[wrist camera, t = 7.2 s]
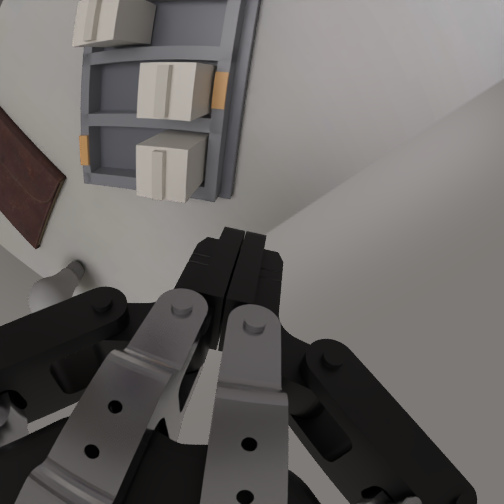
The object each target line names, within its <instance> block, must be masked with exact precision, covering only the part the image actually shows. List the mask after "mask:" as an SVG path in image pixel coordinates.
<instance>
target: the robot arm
mask: <svg viewBox="0 0 504 504" xmlns="http://www.w3.org/2000/svg"><path fill="white" fill-rule="evenodd" d="M244 235H245V231H243V230H238V229H234V228H229V227H225V228H224V230H223V232H222V234H221V236H220V239H214V238H210V237H207V238H206V239H204V240H202V241H201V242H199V243H198V244H197V246H196V248H195V250H194V252H193V254H192V255H191V257H190V259H189V262H188V263H187V265H186V267H185V269H184V270H183V272H182V274H181V276H180V278H179V280H178V282H177V284H176V286H175V288H174V289H172V290H169V291H167V292H165V293H163V294H162V295H161V296H160V297H159V298H158V300H157V301H156V302H153V303H127V300H126V297H125V295H124V294H123V293H122V292H121V291H119V290H118V289H115V288H112V287H99V288H95V289H92V290H90V291H87V292H84V293H82V294H79V295H77V296H74V297H72V298H69V299H67V300H64V301H62V302H59V303H57V304H54V305H52V306H49V307H47V308H44V309H42V310H39V311H37V312H34V313H32V314H29V315H27V316H24V317H22V318H19V319H17V320H15V321H12V322H10V323H7V324H5V325H2V326H0V504H321V503H320V502H319V501H318V500H317V498H316V497H315V495H314V494H313V493H312V491H311V490H310V489H309V487H308V486H307V485H306V484H305V483H304V482H303V481H302V480H301V479H300V478H299V477H298V476H297V475H295V474H294V473H293V472H291V471H290V470H288V425H289V426H290V427H291V429H292V430H293V431H294V433H295V434H296V435H297V437H298V438H299V440H300V441H301V442H302V444H303V445H304V446H305V447H306V449H307V450H308V451H309V453H310V454H311V455H312V457H313V458H314V459H315V461H316V462H317V463H318V464H319V466H320V467H321V468H322V470H323V471H324V472H325V473H326V475H327V476H328V477H329V478H330V480H331V481H332V482H333V483H334V485H335V486H336V487H337V488H338V489H339V491H340V492H341V493H342V494H343V495H344V497H345V498H346V499H347V500H348V501H349V503H350V504H477V496H476V492H475V490H474V488H473V487H472V485H471V484H470V483H469V482H468V481H467V480H466V479H465V477H464V476H463V475H462V474H461V473H460V472H459V471H458V470H457V469H456V467H455V466H454V465H453V464H452V463H451V462H450V460H449V459H448V458H447V457H446V456H445V455H444V454H443V453H442V452H441V450H440V449H439V448H438V447H437V446H436V445H435V444H434V443H433V441H432V440H431V439H430V438H429V437H428V436H427V435H426V434H425V432H424V431H423V430H422V429H421V428H420V427H419V426H418V425H417V423H416V422H415V421H414V420H413V419H412V418H411V417H410V416H409V414H408V413H407V412H406V411H405V410H404V409H403V408H402V407H401V406H400V405H399V403H398V402H397V401H396V400H395V399H394V398H393V397H392V396H391V394H390V393H389V392H388V391H387V390H386V389H385V388H384V387H383V386H382V384H381V383H380V382H379V381H378V380H377V379H376V378H375V377H374V376H373V374H372V373H371V372H370V371H369V370H368V369H367V368H366V367H365V366H364V365H363V363H362V362H361V361H360V360H359V359H358V358H357V357H356V356H355V355H354V353H353V352H352V351H351V350H350V349H349V348H348V347H347V346H345V345H344V344H342V343H340V342H338V341H336V340H332V339H321V340H317V341H315V342H313V343H312V344H311V345H310V344H307V343H305V342H303V341H301V340H299V339H297V338H295V337H293V336H292V335H290V334H289V333H288V332H287V331H286V330H285V329H284V328H283V326H282V325H281V323H280V320H279V305H280V294H281V281H282V271H283V261H282V259H281V257H280V255H279V253H278V252H274V251H270V250H265V249H264V246H265V241H266V235H262V234H257V233H253V232H248V231H247V232H246V235H245V238H244ZM219 338H220V342H219V349H218V350H219V351H223V352H222V358H221V364H220V370H219V376H218V382H217V389H216V395H215V402H214V408H213V415H212V421H211V428H210V435H209V441H208V445H188V444H180V443H177V439H178V436H179V433H180V429H181V424H182V420H183V416H184V413H185V411H186V408H187V406H188V403H189V401H190V399H191V396H192V394H193V391H194V389H195V386H196V384H197V381H198V379H199V376H200V374H201V371H202V368H203V363H204V362H205V359H206V356H207V352H208V349H214V350H216V349H217V345H218V341H219ZM75 352H76V353H75ZM78 401H79V402H78ZM76 402H78V403H77V405H76V407H75V408H74V410H73V412H72V414H71V415H70V416H69V417H66V418H63V419H60V420H58V421H56V422H54V423H52V424H50V425H48V426H46V427H44V428H42V429H39V430H38V431H35V432H33V433H31V434H29V435H28V429H27V424H28V423H30V422H32V421H35V420H37V419H40V418H42V417H44V416H46V415H49V414H51V413H54V412H56V411H58V410H60V409H63V408H65V407H67V406H69V405H72V404H74V403H76Z"/></svg>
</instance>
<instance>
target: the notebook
mask: <svg viewBox="0 0 504 504" xmlns="http://www.w3.org/2000/svg"><path fill="white" fill-rule="evenodd" d="M65 179H66V176H65V175H64V174H63V173H62V172H61V171H60V170H59V169H58V168H57V167H56V166H55V165H54V164H53V163H52V162H51V161H50V160H49V159H48V158H47V157H46V156H45V155H44V154H43V153H42V152H41V151H40V150H39V149H38V148H37V147H36V145H35V144H34V143H33V142H32V141H31V140H30V139H29V138H28V137H27V136H26V135H25V134H24V133H23V132H22V130H21V129H20V128H19V127H18V126H17V125H16V124H15V123H14V122H13V120H12V119H11V118H10V117H9V116H8V115H7V114H6V113H5V111H4V110H3V109H2V108H1V107H0V211H1V212H2V213H3V214H4V215H5V217H6V218H7V219H8V220H9V221H10V222H11V223H12V225H13V226H14V227H15V228H16V229H17V230H18V231H19V232H20V233H21V234H22V236H23V237H24V238H25V239H26V240H27V241H28V242H29V243H30V244H31V245H32V246H33V247H34V248H35V249H37V248H39V247H40V242H41V239H42V236H43V233H44V230H45V227H46V225H47V222H48V219H49V216H50V214H51V211H52V209H53V206H54V203H55V201H56V199H57V196H58V194H59V191H60V189H61V187H62V184H63V182H64V180H65Z"/></svg>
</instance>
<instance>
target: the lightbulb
mask: <svg viewBox="0 0 504 504" xmlns="http://www.w3.org/2000/svg"><path fill="white" fill-rule="evenodd" d="M83 275H84V269H83V267H82V265H81V264H80V263H78V262H72V263H70V264H69V265H68V266H67V267H66V268H64V269H62V270H61V271H60V272H59V273H57V274H56V275H54V276H51V277H46V278H43V279H41V280H39V281H37V282H36V283H35V284H34V285H33V286H32V288H31V290H30V293H29V298H28V300H29V301H28V302H29V307H30V310H31V313H34V312H37V311H39V310H42V309H44V308H47V307H49V306H52V305H54V304H57V303H59V302H62V301H64V300H67V299H69V298H72V295H73V292H74V290H75V288H76V287H77V285H78V282H79V280H80V279H81V278H82V276H83Z"/></svg>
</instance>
